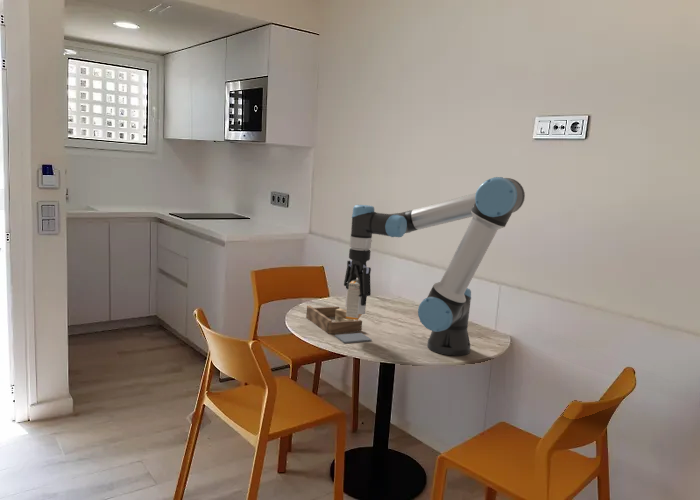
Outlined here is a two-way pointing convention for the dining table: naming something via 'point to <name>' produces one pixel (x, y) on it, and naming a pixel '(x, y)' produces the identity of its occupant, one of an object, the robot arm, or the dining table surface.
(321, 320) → the wooden tray
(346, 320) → the offcut lower
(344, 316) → the offcut upper
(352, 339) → the mat
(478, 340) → the dining table surface
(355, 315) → the supplement box
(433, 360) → the dining table surface
